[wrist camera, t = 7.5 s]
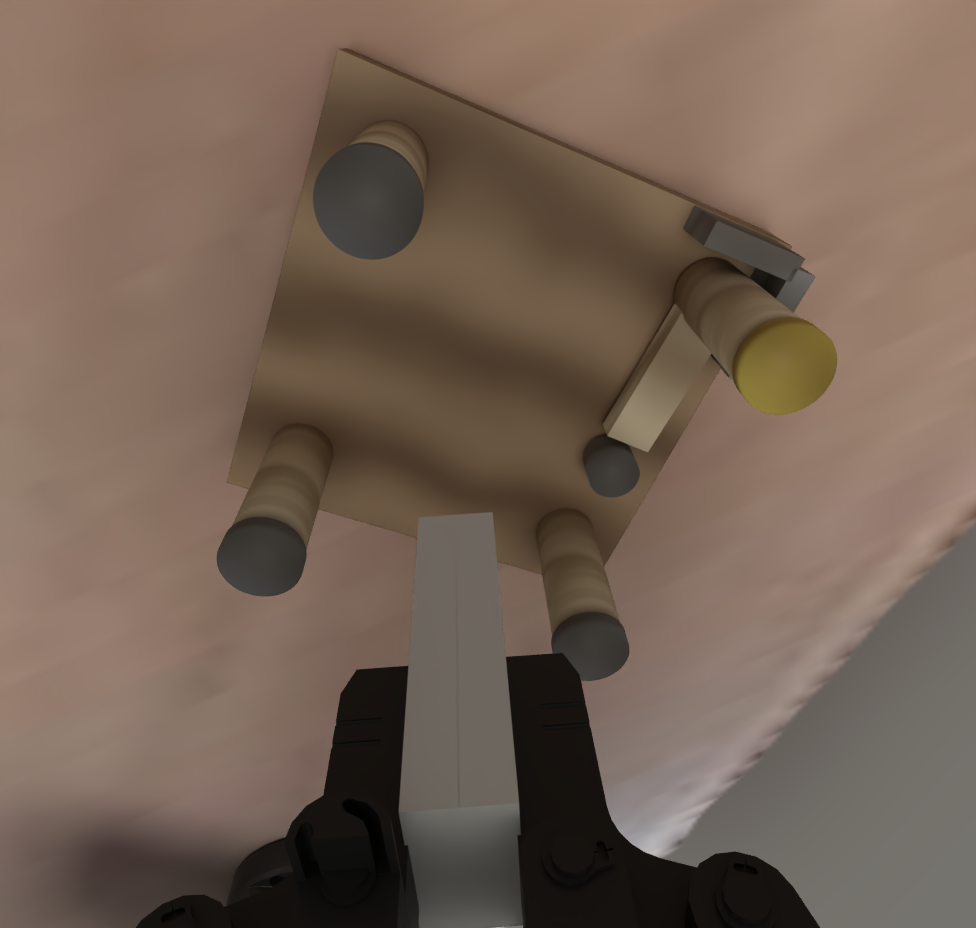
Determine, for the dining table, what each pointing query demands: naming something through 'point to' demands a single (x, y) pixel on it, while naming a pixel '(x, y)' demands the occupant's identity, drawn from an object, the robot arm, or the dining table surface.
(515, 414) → the stool seat
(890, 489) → the dining table surface
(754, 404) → the swing leg
